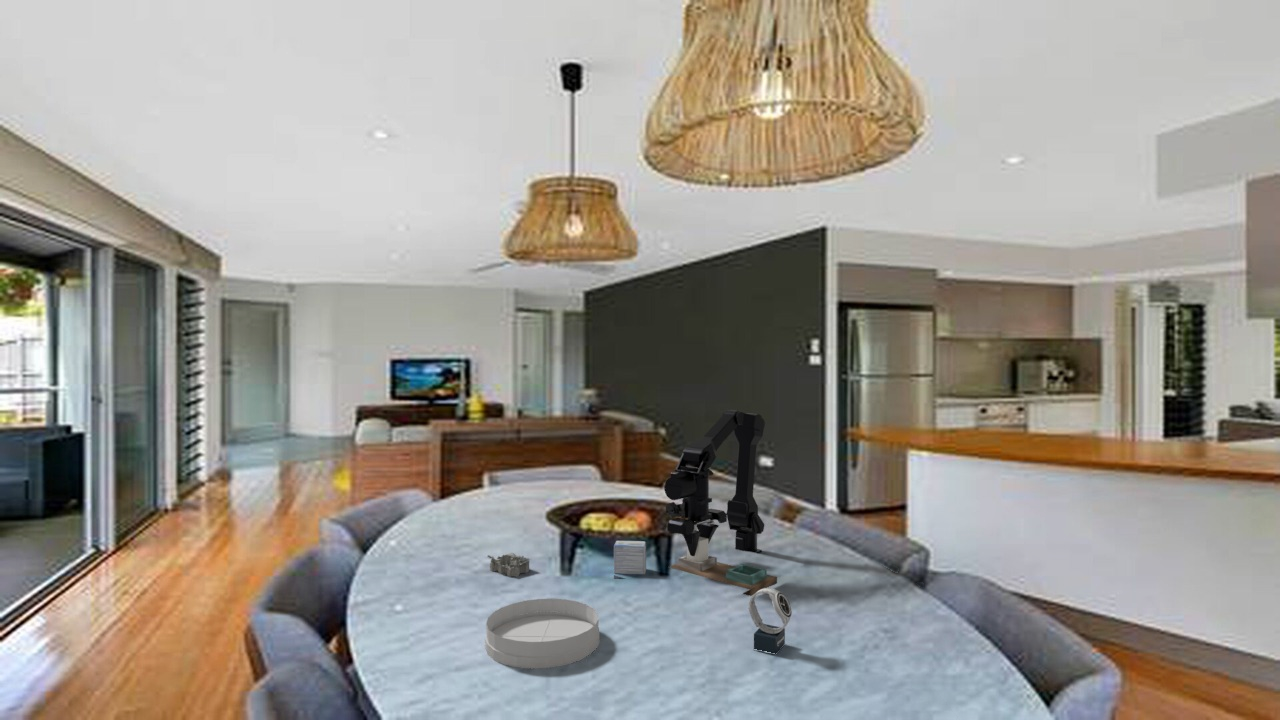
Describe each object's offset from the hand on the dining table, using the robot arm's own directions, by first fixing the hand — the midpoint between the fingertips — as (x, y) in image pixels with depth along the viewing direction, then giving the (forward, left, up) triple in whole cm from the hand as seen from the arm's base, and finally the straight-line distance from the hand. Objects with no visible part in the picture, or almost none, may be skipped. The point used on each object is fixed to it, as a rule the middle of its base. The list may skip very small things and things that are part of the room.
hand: (697, 554), depth 175 cm
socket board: (0, +7, -4) cm, 9 cm away
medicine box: (+15, -10, -5) cm, 19 cm away
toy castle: (+32, -37, -5) cm, 49 cm away
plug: (0, 0, -3) cm, 3 cm away
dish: (+55, +4, -5) cm, 55 cm away
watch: (+27, +38, -5) cm, 47 cm away
